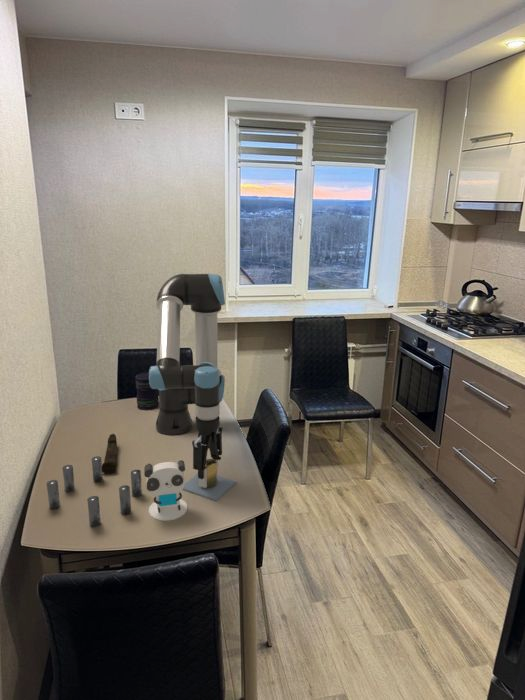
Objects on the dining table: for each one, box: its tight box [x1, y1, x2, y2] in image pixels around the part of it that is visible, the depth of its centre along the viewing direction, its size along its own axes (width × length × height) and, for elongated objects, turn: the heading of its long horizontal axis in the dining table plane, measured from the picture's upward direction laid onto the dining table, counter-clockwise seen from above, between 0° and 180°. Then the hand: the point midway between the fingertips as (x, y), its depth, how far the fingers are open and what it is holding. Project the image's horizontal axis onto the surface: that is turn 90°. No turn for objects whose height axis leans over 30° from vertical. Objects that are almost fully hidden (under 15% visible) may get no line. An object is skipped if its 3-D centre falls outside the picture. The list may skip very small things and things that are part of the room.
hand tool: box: [102, 433, 118, 475], centre depth 171 cm, size 23×5×6 cm, turn 11°
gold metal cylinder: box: [205, 458, 217, 487], centre depth 154 cm, size 6×6×7 cm
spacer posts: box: [46, 455, 143, 528], centre depth 145 cm, size 20×27×8 cm
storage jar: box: [135, 371, 159, 411], centre depth 218 cm, size 10×10×15 cm
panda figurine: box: [143, 459, 188, 522], centre depth 141 cm, size 12×11×15 cm
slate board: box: [182, 473, 237, 502], centre depth 155 cm, size 12×14×1 cm
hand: (208, 481), depth 155 cm, fingers closed on gold metal cylinder, 5 cm apart
